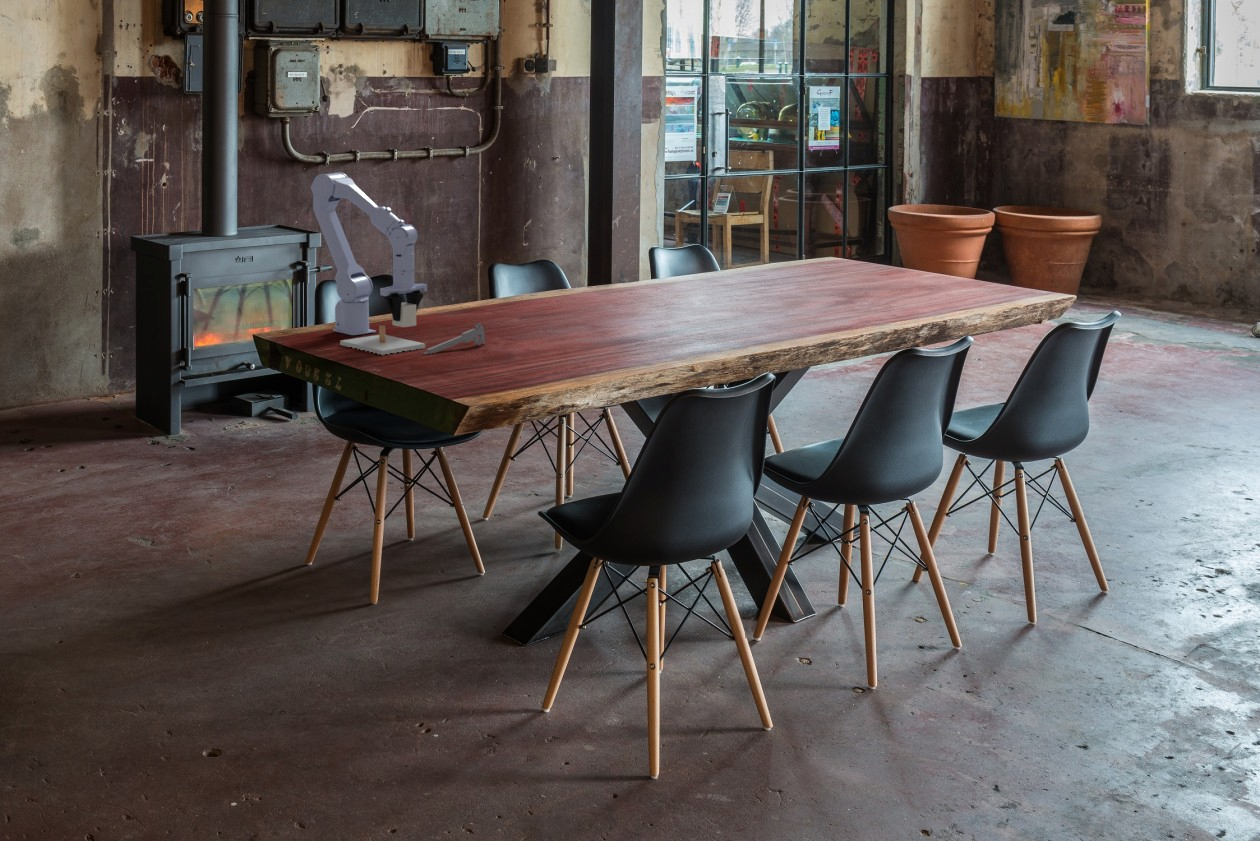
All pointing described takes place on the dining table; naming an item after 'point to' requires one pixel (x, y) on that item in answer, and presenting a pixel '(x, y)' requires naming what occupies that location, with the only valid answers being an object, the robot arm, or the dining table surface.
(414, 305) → the cream rectangular prism
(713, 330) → the dining table surface
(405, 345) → the light gray slab
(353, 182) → the robot arm
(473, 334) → the caliper
